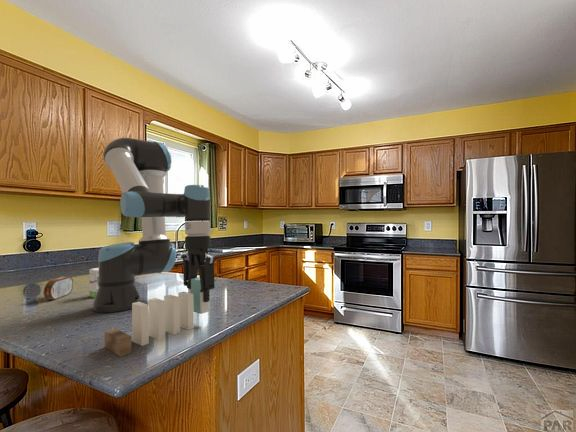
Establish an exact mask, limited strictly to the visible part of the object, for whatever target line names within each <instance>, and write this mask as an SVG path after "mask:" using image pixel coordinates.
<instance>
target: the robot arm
mask: <svg viewBox="0 0 576 432" xmlns="http://www.w3.org/2000/svg"><path fill="white" fill-rule="evenodd" d="M103 161H104V163H105V165H106V167H107V168H108V169H109V170H111V171H112V173H113V176H114V177H115V179H116V181H117V184H118V186H119V187H120V189H121V192H122V193H121V196H120V199H119V200H120V204H119V205H120V211H121V214H122V216H125V217H128V218H129V217H131V218H141V229H142V230H141V233H142V234H141V235H142V237H141V238H139V240H138V245H136V244H135V242H133V241H132V242H131V241H130V242H129V241H127V242H120V243H119V242H118V243H115V244H114V243H113V244H109V245H105V246H103V247H101V248H100V249H99V251H98V260H97V262H98V268H99V289H98V292H97V295H96V297H95V298H94V301H93V304H92V307H93V308H92V310H93V312H95V313H115V312H121V311H127V310H130V309H131V310H132V303H135V302H141V297H140V294H139V292H138V291H139V290H138V289H137V286H136V278H135V277H137V276H139V277H140V276H145V275H153V274H162V273H165V272H166V273H167V272H169V271H171V270H172V269H173V267H174V266H175V262H176V259H177V249H176V245H175V244H174V243H172V242H171V239H170V237H169V236H168V235H167V233H166V217H168V218H184V224H185V225H184V234H185V235H187V236H185V237H184V247H185V249H188V251H187V253H185V254H182V257H181V258H182V261H183V263H182V264H183V265H182V267H183V271H182V272H183V274H182V275H183V277H182V278H183V279H182V280H183V286H184V287H186V288H187V289H188V290H187V291H188V293H191V279H192V278H200V283H201V289H202V290H200V313H201V314H202V313H203V314H206V313H209V312H210V299H211V298H210V291H211V290H215V284H216V283H215V260H216V257H215V255H210V254H209V248H210V247H212V246H211V236H210V234H211V232H212V231H211V197H210V187H209V186H207V185H205V184H204V185H203V184H189V185H185V187H184V192H183V193H166V192H165V193H164V178H165V177H166V175H167V172H168V171H170V170H171V168H172V154H171V151H170V149H169V147H168V146H167V145H166V144H165V143H161V142H157V141H150V140H143V139H137V138H131V137H120V138H117V139H114V140H112V141H110V142H109V143H108V144H107V145H106V147H104V151H103ZM198 276H199V277H198ZM200 313H199V314H200ZM203 314H202V315H203Z"/></svg>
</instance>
